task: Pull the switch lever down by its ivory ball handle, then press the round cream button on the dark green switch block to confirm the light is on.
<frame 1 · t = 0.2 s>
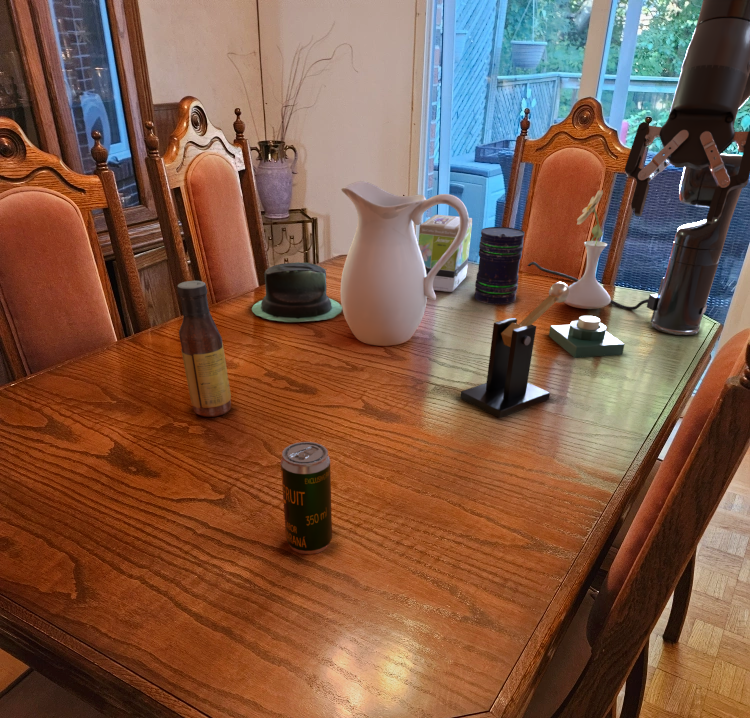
hand: (672, 218, 84), 31 cm above the table, tool tilted 20°, fingers open, 8 cm apart
bracket: (504, 399, 111), on the table
lever: (536, 313, 106), point 14 cm above the table, hinge at 28.0°
tea box: (441, 283, 167), on the table
sauce bottle: (211, 411, 106), on the table
flower in vase: (582, 307, 153), on the table
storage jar: (494, 298, 158), on the table
switch block: (584, 345, 133), on the table
pitcher: (398, 340, 134), on the table
green drink can: (309, 543, 78), on the table
button: (588, 323, 130), point 4 cm above the table, slide at 0.1 cm
fedora hat: (297, 309, 148), on the table
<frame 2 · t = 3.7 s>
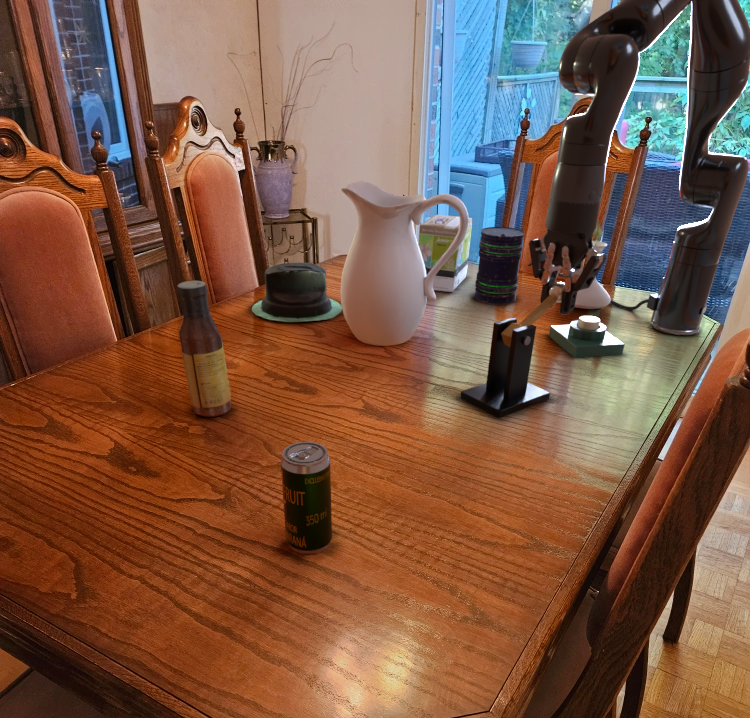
hand: (555, 309, 109), 13 cm above the table, tool pointing down, fingers closed on lever, 3 cm apart
lever: (536, 313, 106), point 14 cm above the table, hinge at 28.0°, touching gripper
everything else where it was.
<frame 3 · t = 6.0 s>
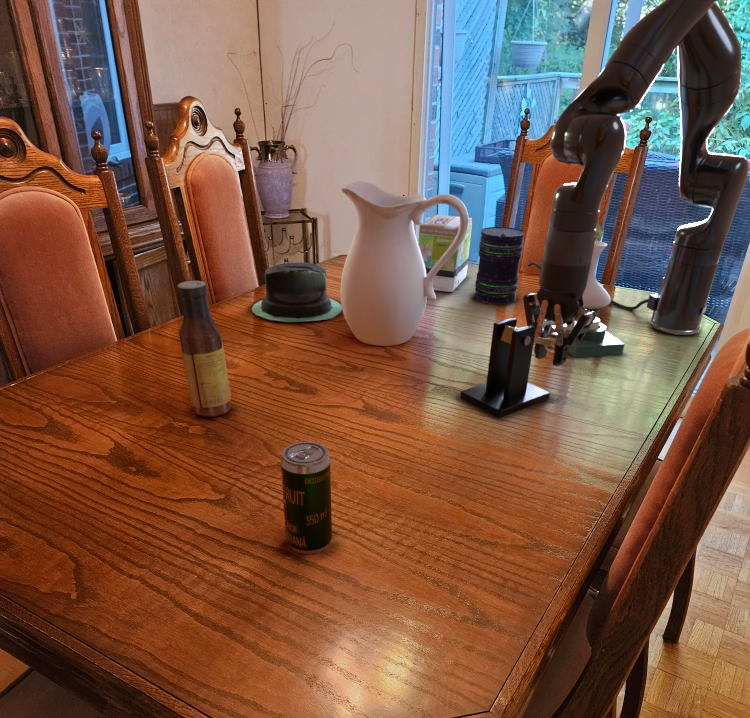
hand: (549, 360, 114), 4 cm above the table, tool pointing down, fingers closed on lever, 3 cm apart
lever: (534, 339, 109), point 9 cm above the table, hinge at -18.2°, touching gripper
everything else where it was.
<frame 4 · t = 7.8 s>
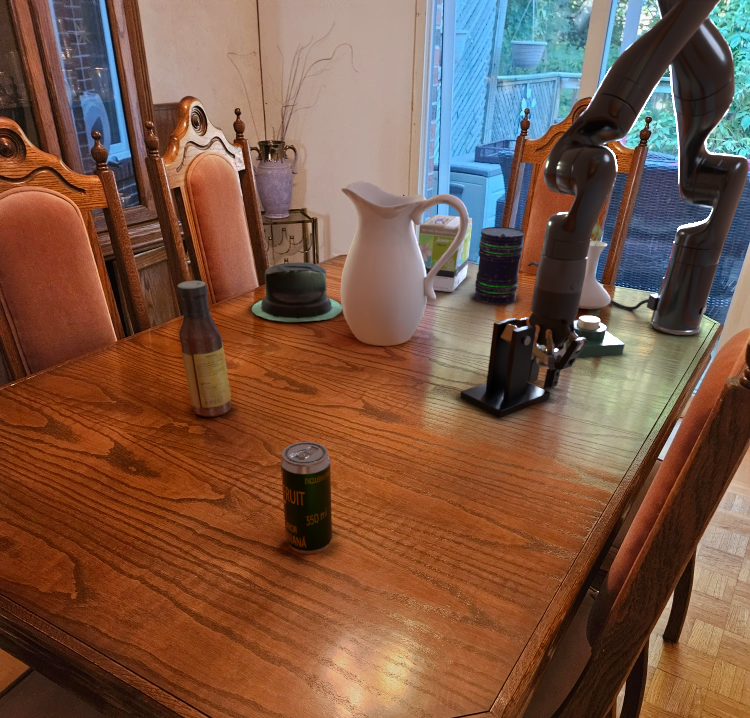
hand: (540, 384, 116), 0 cm above the table, tool pointing down, fingers open, 3 cm apart
lever: (530, 348, 109), point 8 cm above the table, hinge at -33.4°
everything else where it was.
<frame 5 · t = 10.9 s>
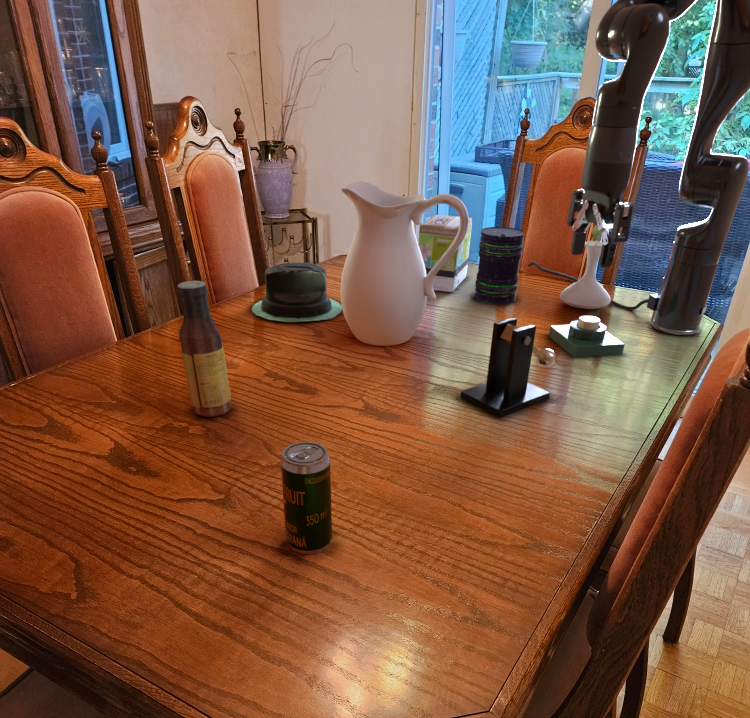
hand: (590, 260, 117), 18 cm above the table, tool pointing down, fingers open, 8 cm apart
lever: (530, 347, 109), point 8 cm above the table, hinge at -32.5°
everything else where it was.
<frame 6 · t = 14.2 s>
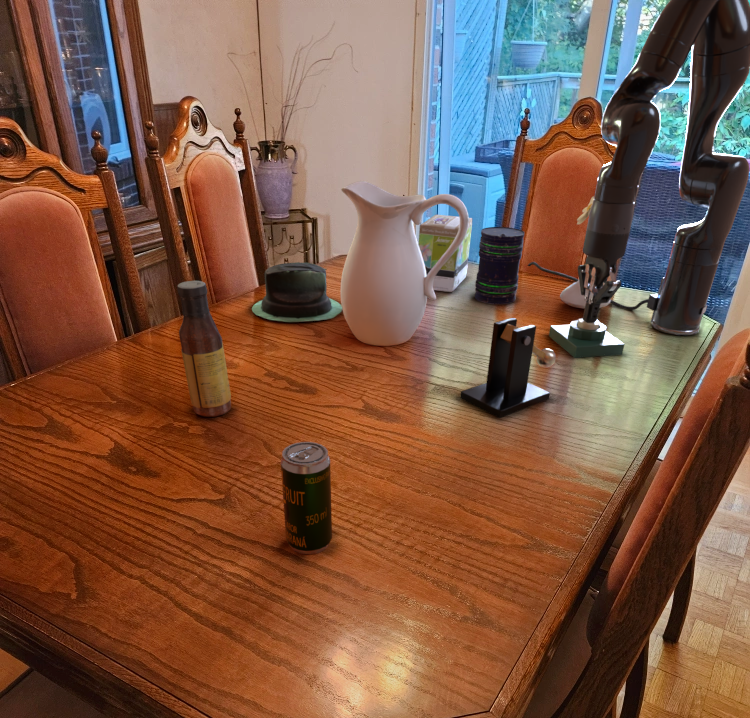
hand: (589, 321, 130), 5 cm above the table, tool pointing down, fingers closed
button: (588, 325, 131), point 4 cm above the table, slide at -0.3 cm, touching gripper
everything else where it was.
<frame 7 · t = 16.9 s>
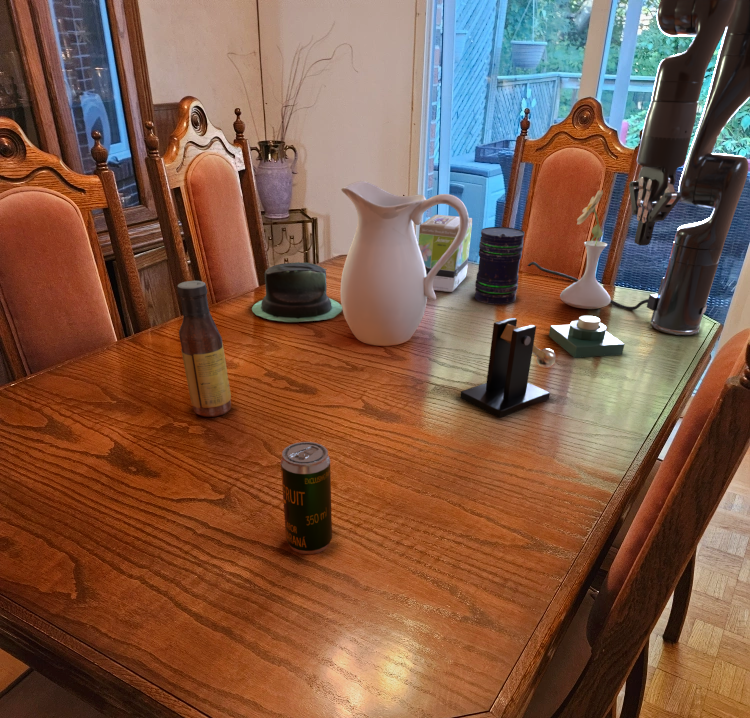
hand: (641, 244, 118), 20 cm above the table, tool pointing down, fingers closed
button: (588, 323, 130), point 4 cm above the table, slide at 0.1 cm
everything else where it was.
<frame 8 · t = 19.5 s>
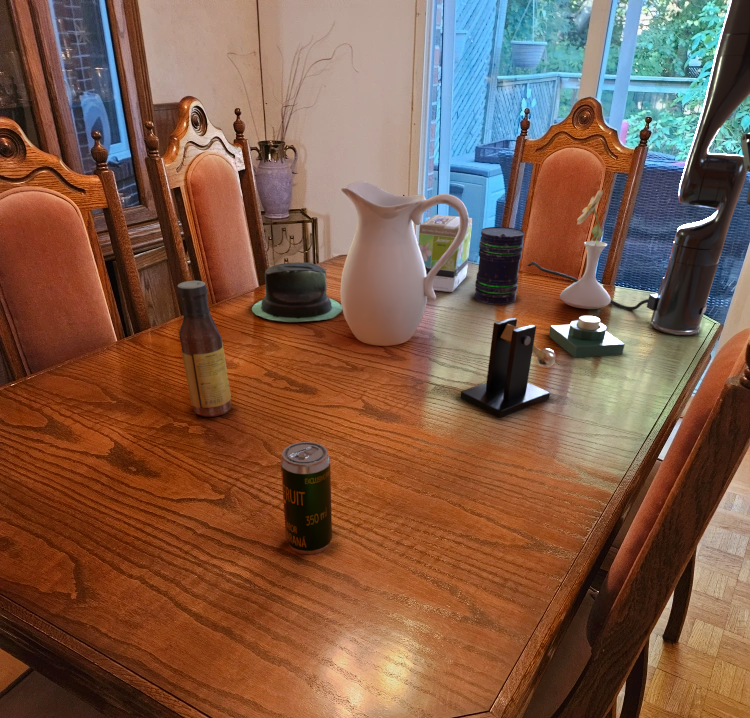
nothing on the table moved.
at the end: lever at -32° (first picture: +28°); button pushed in 1.1 cm at the most during the clip, back to where it started at the end; button slide at 0.1 cm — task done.
